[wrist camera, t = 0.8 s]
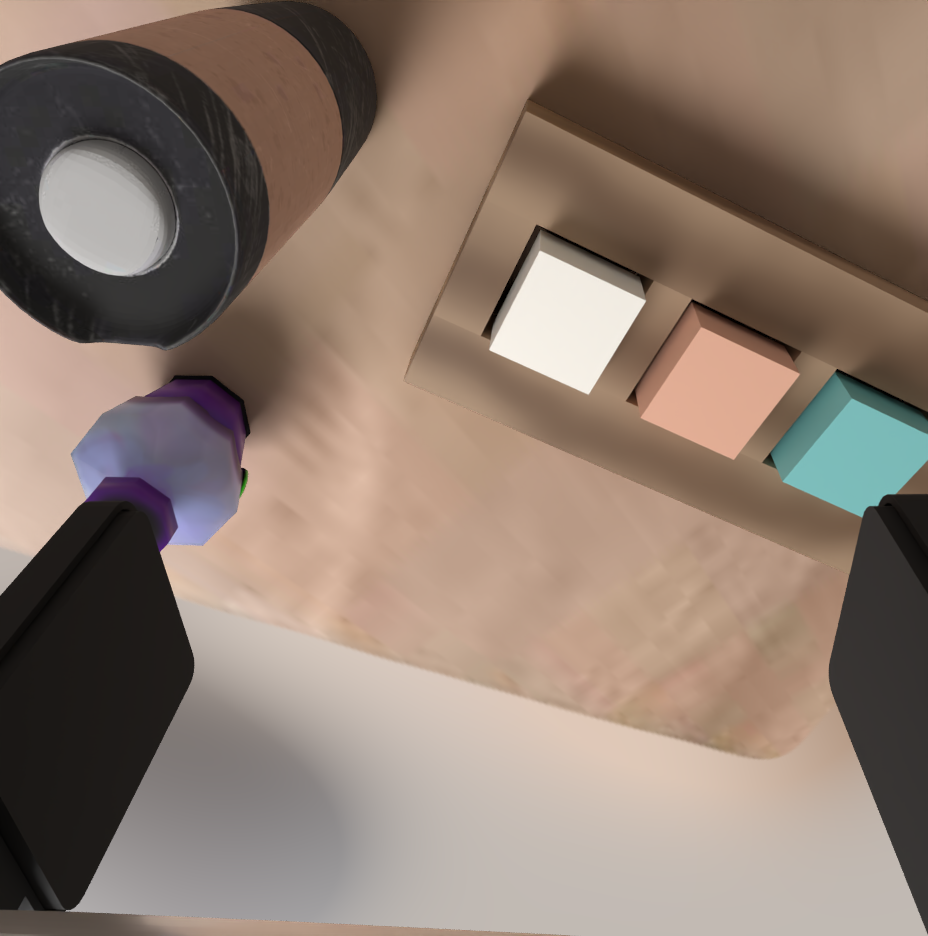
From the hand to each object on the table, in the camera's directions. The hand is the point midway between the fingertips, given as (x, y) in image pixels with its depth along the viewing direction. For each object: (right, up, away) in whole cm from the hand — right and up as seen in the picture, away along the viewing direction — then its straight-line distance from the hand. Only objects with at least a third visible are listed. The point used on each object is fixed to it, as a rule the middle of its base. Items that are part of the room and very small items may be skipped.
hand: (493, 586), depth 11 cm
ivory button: (+4, +10, +28) cm, 30 cm away
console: (+12, +8, +31) cm, 34 cm away
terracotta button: (+12, +7, +29) cm, 32 cm away
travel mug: (-8, +19, +26) cm, 33 cm away
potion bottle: (-15, +5, +36) cm, 40 cm away
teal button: (+19, +4, +31) cm, 36 cm away
